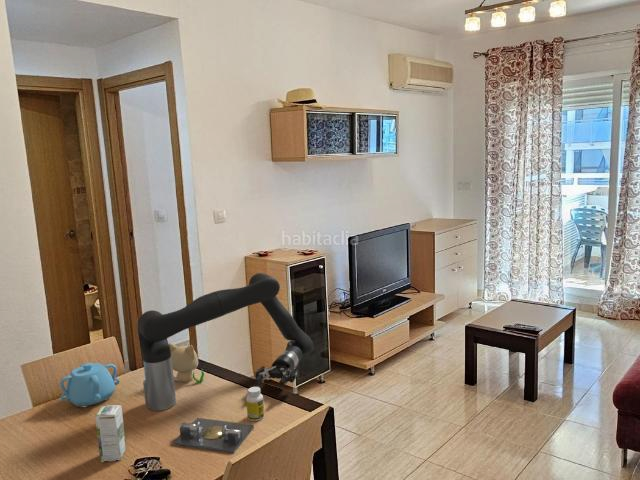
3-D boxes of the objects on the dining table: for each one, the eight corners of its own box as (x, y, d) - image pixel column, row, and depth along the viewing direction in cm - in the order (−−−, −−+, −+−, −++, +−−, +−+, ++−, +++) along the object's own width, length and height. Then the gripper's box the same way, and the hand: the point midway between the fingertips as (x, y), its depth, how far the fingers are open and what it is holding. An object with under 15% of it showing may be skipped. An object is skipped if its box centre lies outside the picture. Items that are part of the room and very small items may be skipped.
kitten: (210, 376, 199) (207, 339, 196) (197, 387, 189) (193, 349, 187) (177, 372, 203) (173, 337, 201) (162, 384, 194) (158, 346, 191)
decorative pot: (97, 412, 175) (92, 375, 172) (57, 409, 178) (51, 372, 176) (125, 390, 190) (121, 356, 188) (87, 387, 194) (83, 353, 192)
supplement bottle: (261, 422, 163) (259, 393, 161) (245, 421, 164) (243, 392, 162) (266, 413, 168) (264, 385, 167) (250, 412, 169) (248, 385, 168)
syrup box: (106, 451, 151) (100, 405, 149) (127, 449, 152) (121, 404, 149) (100, 462, 146) (93, 415, 143) (121, 460, 146) (115, 413, 144)
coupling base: (173, 444, 153) (171, 430, 152) (197, 420, 166) (196, 407, 165) (233, 453, 147) (232, 438, 146) (254, 427, 160) (253, 414, 159)
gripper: (267, 353, 192) (248, 371, 177) (302, 355, 188) (287, 375, 173) (268, 371, 194) (250, 391, 178) (304, 374, 189) (288, 395, 174)
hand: (268, 383), depth 176 cm, fingers open, 8 cm apart
